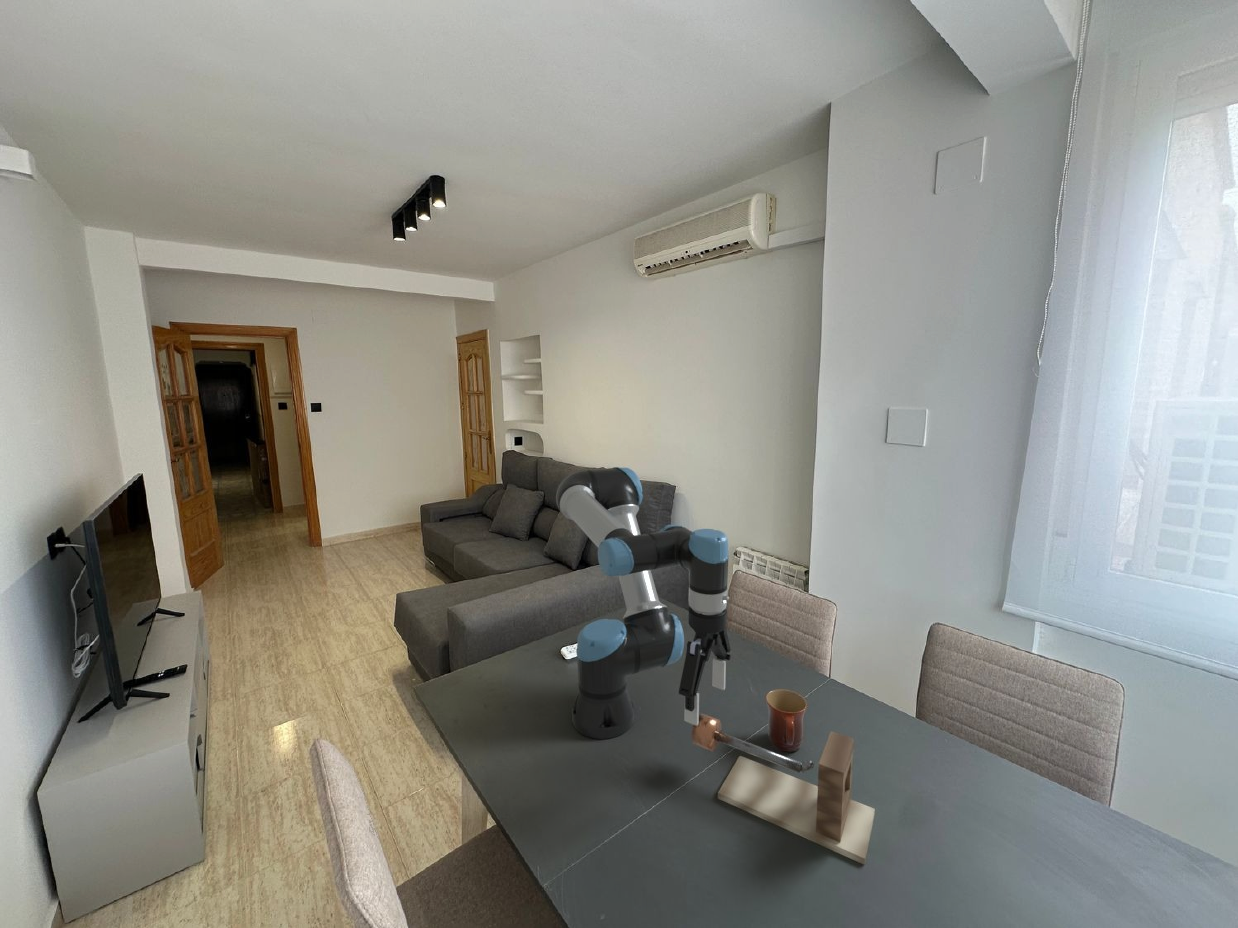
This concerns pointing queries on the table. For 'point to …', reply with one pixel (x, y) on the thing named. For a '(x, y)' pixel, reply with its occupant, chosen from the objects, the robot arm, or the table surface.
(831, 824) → the eye block
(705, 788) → the table surface
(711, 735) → the copper and grey mallet
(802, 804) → the board
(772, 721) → the mug
